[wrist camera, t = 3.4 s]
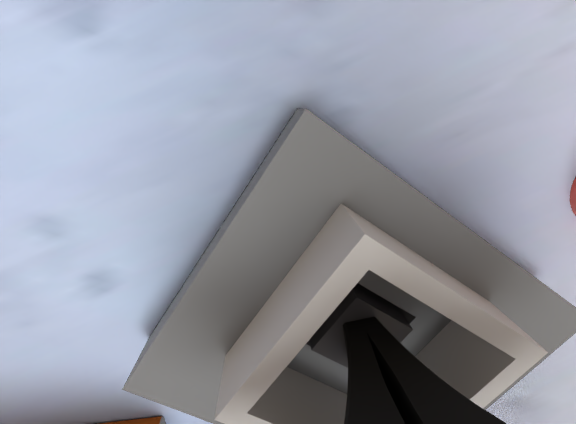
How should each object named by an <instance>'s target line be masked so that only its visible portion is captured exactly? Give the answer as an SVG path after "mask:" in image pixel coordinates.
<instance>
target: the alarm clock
mask: <svg viewBox="0 0 576 424" xmlns="http://www.w3.org/2000/svg"><path fill="white" fill-rule="evenodd" d="M99 424H166V422H165V419H164V417H163V416H160V417H151V418H143V419H134V420H125V421H116V422H107V423H99Z"/></svg>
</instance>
